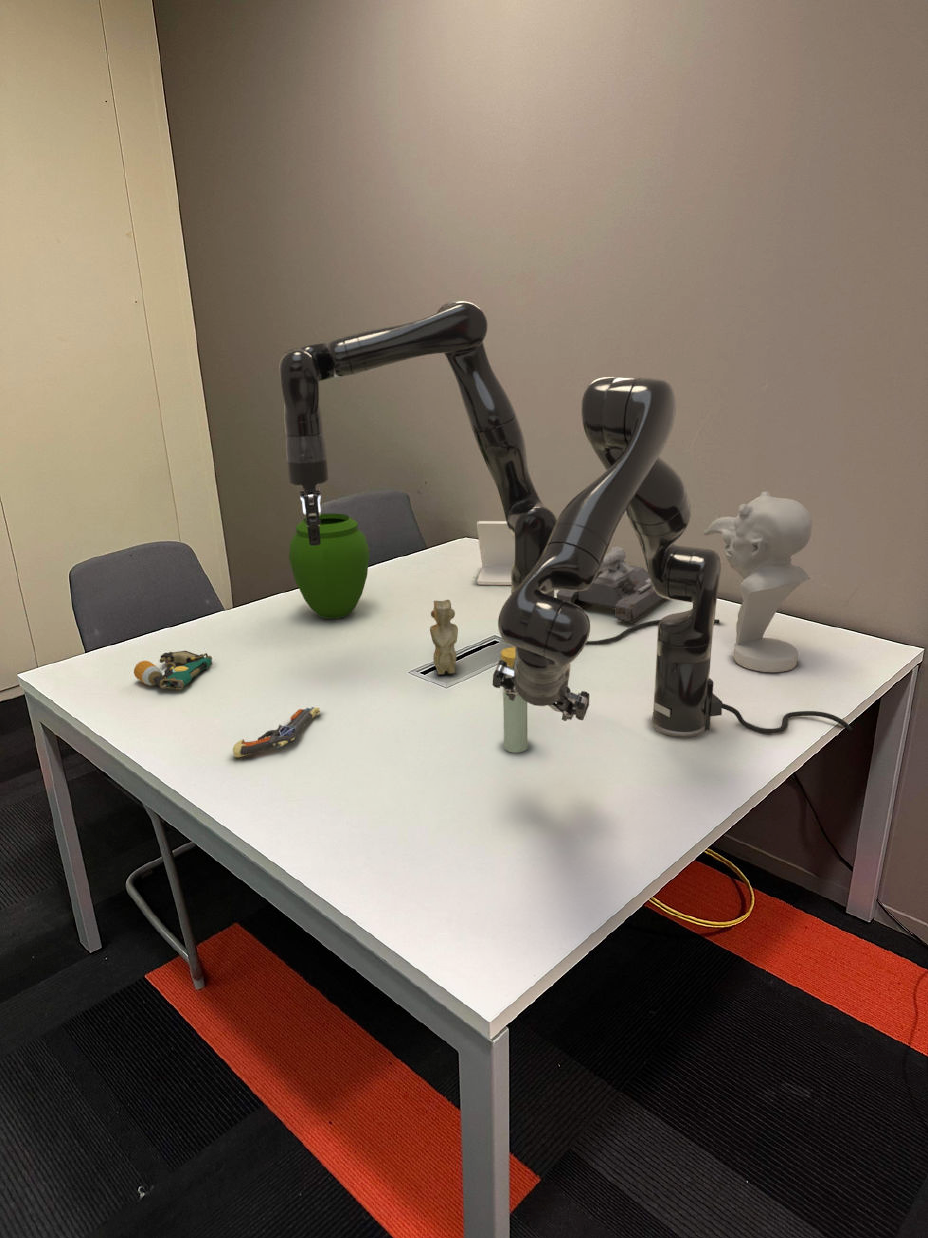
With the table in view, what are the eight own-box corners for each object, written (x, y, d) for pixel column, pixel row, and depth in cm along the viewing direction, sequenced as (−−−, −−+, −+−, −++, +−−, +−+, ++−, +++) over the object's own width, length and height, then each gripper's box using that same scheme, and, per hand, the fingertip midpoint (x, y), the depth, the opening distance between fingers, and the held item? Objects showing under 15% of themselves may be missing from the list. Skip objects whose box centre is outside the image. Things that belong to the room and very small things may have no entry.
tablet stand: (569, 585, 229) (570, 524, 223) (476, 584, 232) (475, 523, 226) (570, 566, 246) (571, 508, 240) (484, 564, 249) (483, 507, 243)
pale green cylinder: (514, 755, 146) (514, 661, 140) (499, 746, 149) (497, 654, 143) (532, 747, 148) (532, 655, 142) (516, 739, 151) (515, 648, 145)
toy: (603, 584, 229) (605, 530, 224) (673, 597, 218) (677, 540, 213) (555, 612, 210) (556, 553, 205) (630, 627, 199) (633, 566, 194)
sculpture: (458, 662, 183) (456, 596, 178) (460, 676, 176) (457, 608, 171) (431, 663, 183) (428, 597, 177) (431, 677, 176) (428, 609, 171)
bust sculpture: (733, 628, 197) (746, 477, 185) (818, 663, 177) (839, 497, 165) (679, 642, 190) (690, 486, 178) (762, 680, 170) (780, 508, 158)
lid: (514, 670, 140) (514, 660, 139) (494, 661, 143) (494, 652, 142) (535, 662, 142) (535, 652, 142) (516, 653, 146) (516, 644, 145)
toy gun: (227, 747, 146) (281, 745, 144) (271, 705, 164) (320, 702, 162) (230, 762, 146) (284, 759, 144) (274, 718, 164) (322, 715, 162)
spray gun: (177, 659, 191) (231, 671, 185) (120, 684, 176) (176, 698, 171) (176, 641, 190) (230, 653, 184) (118, 665, 175) (174, 678, 169)
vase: (389, 608, 216) (383, 514, 208) (339, 633, 201) (330, 533, 192) (330, 596, 226) (322, 506, 218) (278, 619, 211) (267, 523, 202)
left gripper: (328, 462, 158) (335, 547, 164) (324, 450, 171) (331, 529, 177) (287, 465, 157) (295, 550, 162) (286, 452, 170) (294, 532, 176)
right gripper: (601, 664, 115) (592, 699, 130) (503, 628, 118) (505, 666, 133) (582, 714, 112) (575, 744, 127) (482, 676, 115) (487, 709, 130)
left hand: (314, 539), depth 170 cm, fingers open, 8 cm apart
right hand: (539, 704), depth 130 cm, fingers open, 8 cm apart
